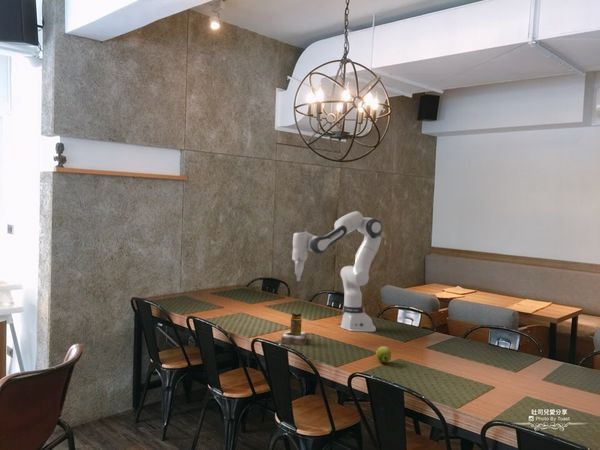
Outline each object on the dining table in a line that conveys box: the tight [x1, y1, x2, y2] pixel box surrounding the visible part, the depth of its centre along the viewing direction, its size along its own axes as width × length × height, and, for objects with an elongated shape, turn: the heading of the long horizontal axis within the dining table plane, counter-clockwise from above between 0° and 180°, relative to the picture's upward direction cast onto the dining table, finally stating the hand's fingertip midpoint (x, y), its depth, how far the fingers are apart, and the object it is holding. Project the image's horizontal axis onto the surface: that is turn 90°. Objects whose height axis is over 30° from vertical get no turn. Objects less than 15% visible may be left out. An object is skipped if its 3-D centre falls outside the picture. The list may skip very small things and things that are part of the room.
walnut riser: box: [280, 330, 308, 346], centre depth 284 cm, size 13×13×4 cm
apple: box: [375, 345, 392, 364], centre depth 253 cm, size 8×9×8 cm
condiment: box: [285, 312, 303, 337], centre depth 282 cm, size 7×8×12 cm
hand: (298, 279), depth 303 cm, fingers open, 8 cm apart
